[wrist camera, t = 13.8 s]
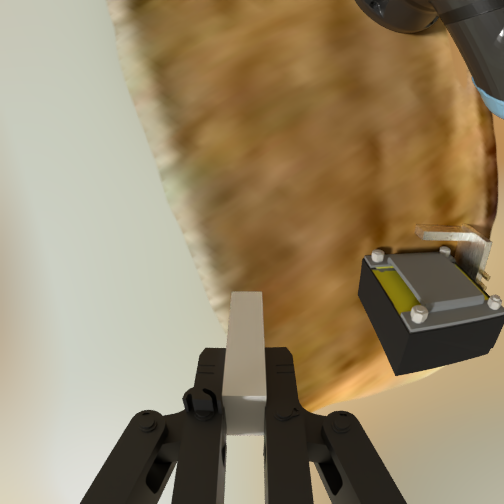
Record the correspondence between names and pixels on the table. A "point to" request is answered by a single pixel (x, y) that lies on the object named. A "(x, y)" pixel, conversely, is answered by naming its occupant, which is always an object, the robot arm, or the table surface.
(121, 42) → the table surface
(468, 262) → the mounting bracket
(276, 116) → the table surface
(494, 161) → the table surface
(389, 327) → the electrical component
